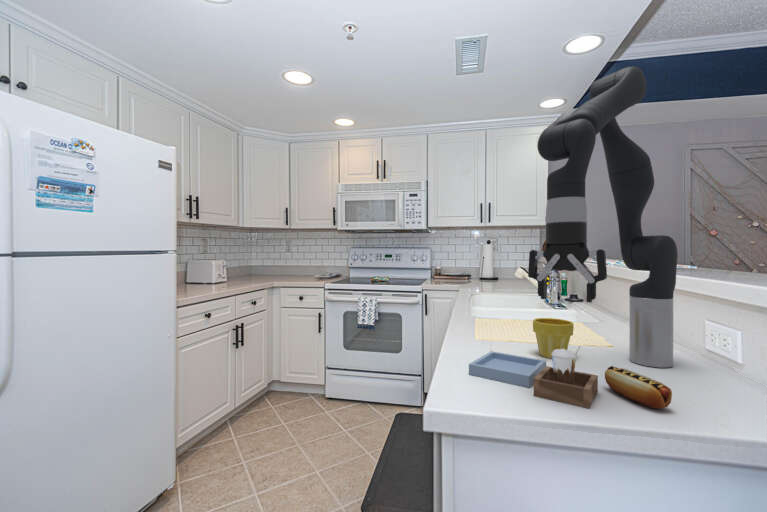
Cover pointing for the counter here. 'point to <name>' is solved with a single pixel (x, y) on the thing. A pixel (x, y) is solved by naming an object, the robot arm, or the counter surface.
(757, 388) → the counter surface
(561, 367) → the milkshake
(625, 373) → the hot dog
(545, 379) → the holder
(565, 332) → the plant pot
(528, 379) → the tray
